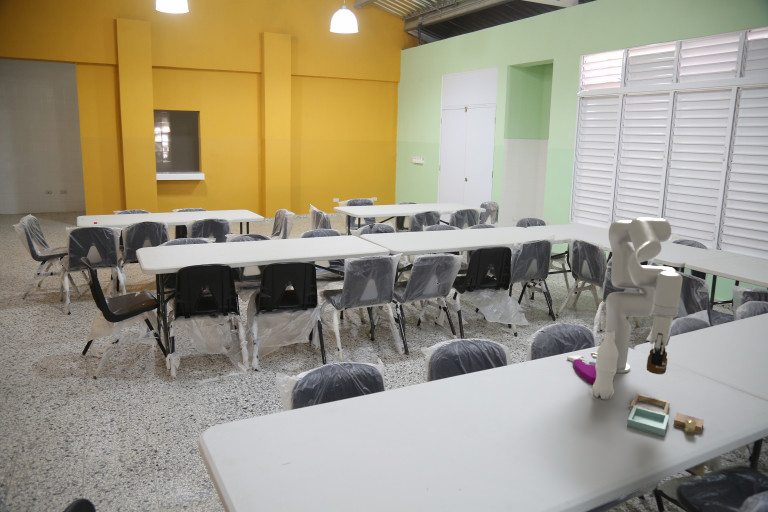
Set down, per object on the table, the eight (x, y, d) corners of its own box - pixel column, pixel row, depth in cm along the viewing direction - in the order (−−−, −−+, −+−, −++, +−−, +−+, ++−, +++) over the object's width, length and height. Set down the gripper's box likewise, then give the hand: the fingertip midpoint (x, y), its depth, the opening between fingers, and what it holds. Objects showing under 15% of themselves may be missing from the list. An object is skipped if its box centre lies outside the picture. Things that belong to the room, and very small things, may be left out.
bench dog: (683, 433, 185) (685, 421, 184) (684, 429, 188) (686, 418, 187) (693, 436, 184) (695, 424, 183) (694, 432, 186) (696, 420, 185)
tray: (627, 426, 189) (628, 419, 188) (632, 412, 198) (633, 405, 197) (663, 436, 183) (664, 429, 182) (668, 422, 192) (669, 415, 191)
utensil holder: (642, 368, 194) (646, 335, 191) (656, 366, 196) (661, 333, 193) (655, 375, 188) (661, 341, 186) (670, 373, 190) (675, 339, 188)
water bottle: (609, 392, 212) (618, 328, 206) (615, 401, 205) (624, 335, 199) (589, 391, 213) (597, 327, 207) (594, 400, 206) (602, 334, 200)
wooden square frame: (630, 410, 199) (631, 405, 199) (635, 398, 208) (636, 393, 208) (665, 419, 193) (666, 414, 193) (669, 406, 202) (670, 401, 202)
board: (673, 426, 190) (674, 419, 190) (675, 419, 195) (677, 412, 194) (700, 434, 186) (701, 427, 185) (702, 426, 191) (703, 419, 190)
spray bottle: (588, 385, 218) (560, 360, 242) (615, 384, 219) (585, 359, 243) (589, 378, 217) (561, 353, 241) (616, 377, 219) (586, 353, 242)
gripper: (655, 301, 196) (648, 351, 200) (648, 314, 182) (641, 367, 186) (680, 305, 192) (672, 356, 196) (675, 318, 178) (667, 373, 182)
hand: (657, 361), depth 191 cm, fingers closed on utensil holder, 5 cm apart
